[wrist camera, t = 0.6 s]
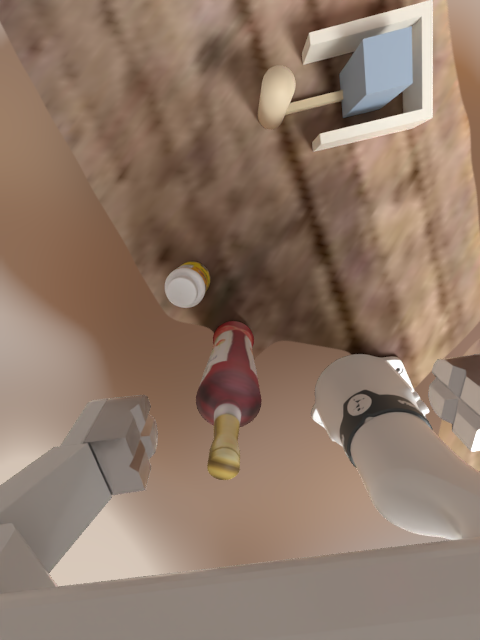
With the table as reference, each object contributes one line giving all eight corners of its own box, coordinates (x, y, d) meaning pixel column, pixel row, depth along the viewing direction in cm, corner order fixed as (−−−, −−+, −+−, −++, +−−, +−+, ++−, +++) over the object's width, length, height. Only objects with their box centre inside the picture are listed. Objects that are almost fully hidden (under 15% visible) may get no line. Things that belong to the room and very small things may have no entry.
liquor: (220, 311, 49) (193, 420, 23) (261, 325, 50) (281, 446, 23) (207, 349, 51) (168, 487, 25) (246, 361, 52) (249, 509, 26)
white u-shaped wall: (410, 25, 37) (432, -1, 32) (412, 128, 40) (432, 117, 36) (301, 53, 38) (309, 32, 33) (312, 152, 41) (321, 144, 37)
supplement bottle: (212, 293, 48) (204, 312, 38) (178, 295, 48) (162, 314, 39) (209, 259, 46) (200, 270, 37) (174, 261, 46) (156, 272, 37)
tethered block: (378, 64, 38) (417, 20, 29) (380, 109, 40) (417, 79, 31) (254, 96, 39) (257, 61, 31) (261, 138, 41) (266, 116, 32)
